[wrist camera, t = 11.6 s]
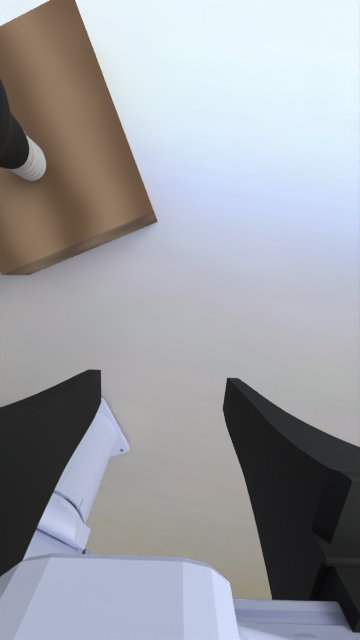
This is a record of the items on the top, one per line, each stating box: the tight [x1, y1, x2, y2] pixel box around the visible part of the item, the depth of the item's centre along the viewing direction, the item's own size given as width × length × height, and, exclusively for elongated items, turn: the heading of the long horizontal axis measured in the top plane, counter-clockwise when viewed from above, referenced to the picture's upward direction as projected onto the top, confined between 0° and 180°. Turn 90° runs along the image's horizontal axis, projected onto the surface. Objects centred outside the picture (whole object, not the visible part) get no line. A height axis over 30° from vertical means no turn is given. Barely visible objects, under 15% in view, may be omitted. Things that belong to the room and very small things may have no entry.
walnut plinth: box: [0, 0, 157, 275], centre depth 16 cm, size 14×14×3 cm
